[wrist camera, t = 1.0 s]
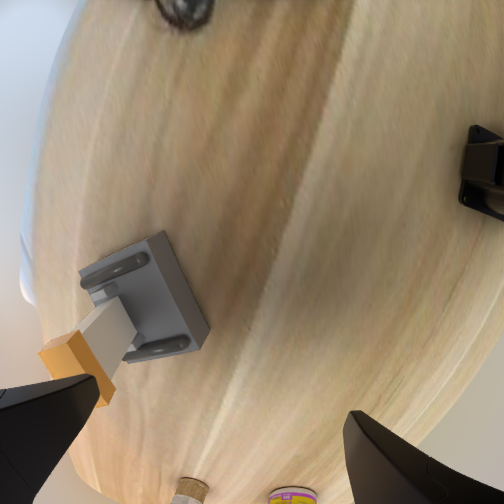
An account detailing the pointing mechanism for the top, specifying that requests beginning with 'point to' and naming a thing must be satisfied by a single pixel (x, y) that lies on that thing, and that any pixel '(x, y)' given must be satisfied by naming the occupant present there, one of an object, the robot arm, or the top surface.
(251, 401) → the top surface
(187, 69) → the top surface
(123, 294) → the grey railed base plate
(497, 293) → the top surface
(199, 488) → the sprinkles bottle
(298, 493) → the supplement bottle
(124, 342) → the lever
